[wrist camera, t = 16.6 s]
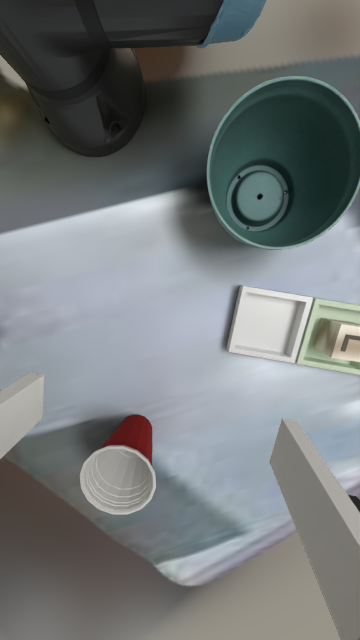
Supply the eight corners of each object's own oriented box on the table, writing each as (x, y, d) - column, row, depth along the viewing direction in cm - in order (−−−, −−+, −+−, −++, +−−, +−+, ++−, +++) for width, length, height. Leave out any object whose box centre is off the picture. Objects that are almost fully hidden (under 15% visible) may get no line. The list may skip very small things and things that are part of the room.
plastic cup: (176, 420, 42) (170, 476, 31) (148, 460, 45) (131, 527, 33) (126, 390, 42) (100, 436, 30) (100, 433, 44) (66, 491, 32)
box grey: (239, 285, 37) (243, 286, 34) (305, 296, 36) (313, 297, 34) (226, 346, 39) (228, 351, 36) (288, 357, 39) (294, 363, 36)
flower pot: (334, 172, 33) (401, 123, 22) (275, 274, 36) (309, 274, 25) (235, 118, 32) (256, 42, 22) (184, 227, 36) (180, 207, 25)
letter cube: (321, 317, 37) (341, 324, 32) (353, 322, 36) (378, 330, 31) (313, 346, 38) (331, 357, 33) (344, 351, 37) (367, 363, 32)
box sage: (307, 296, 36) (315, 298, 34) (374, 307, 36) (387, 310, 34) (290, 357, 39) (297, 363, 36) (353, 368, 38) (363, 375, 36)
